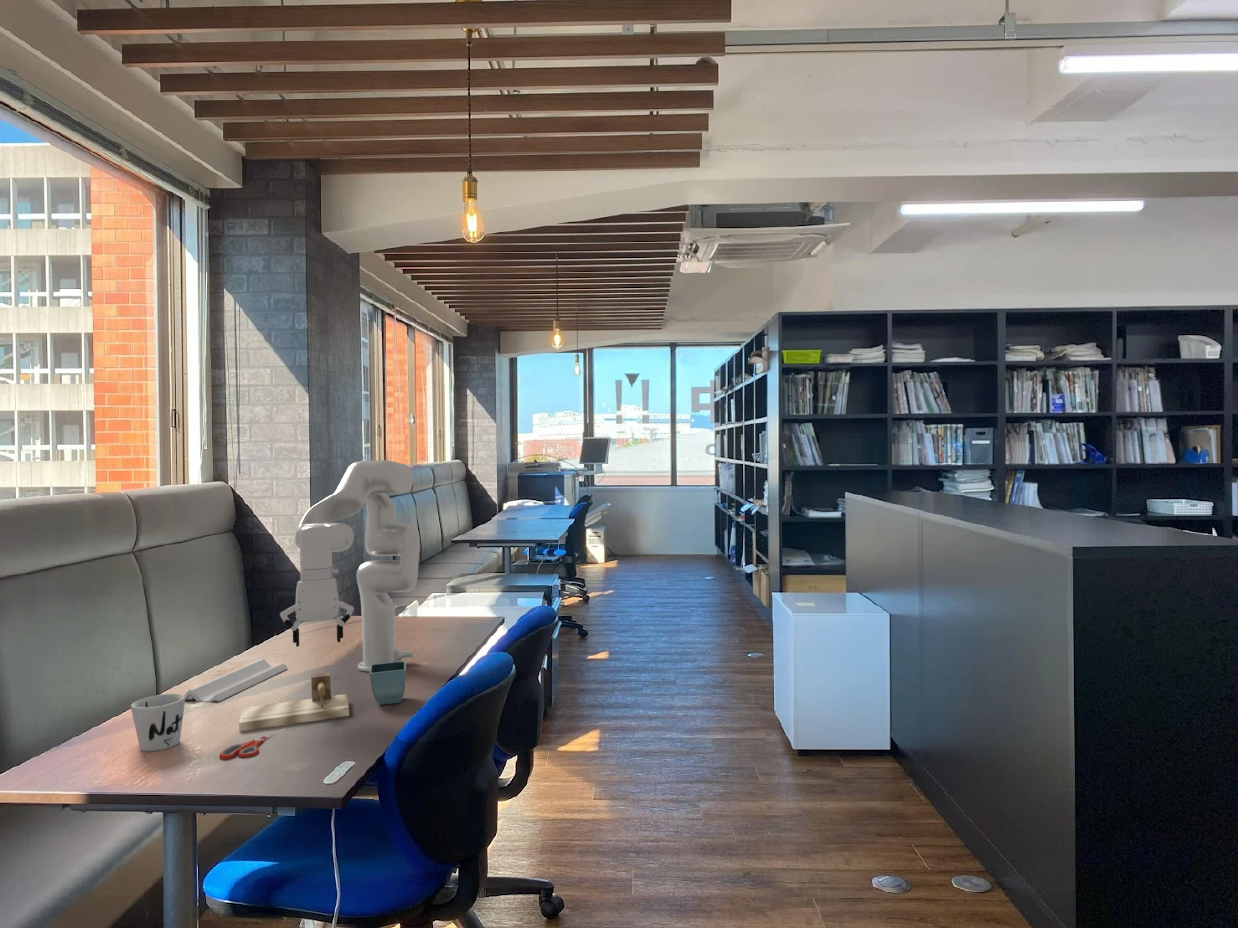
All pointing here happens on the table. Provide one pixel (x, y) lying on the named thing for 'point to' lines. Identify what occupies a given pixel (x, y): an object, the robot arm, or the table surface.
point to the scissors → (245, 748)
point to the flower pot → (388, 682)
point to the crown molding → (234, 682)
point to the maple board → (292, 712)
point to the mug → (158, 721)
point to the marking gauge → (321, 687)
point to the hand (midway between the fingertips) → (318, 643)
